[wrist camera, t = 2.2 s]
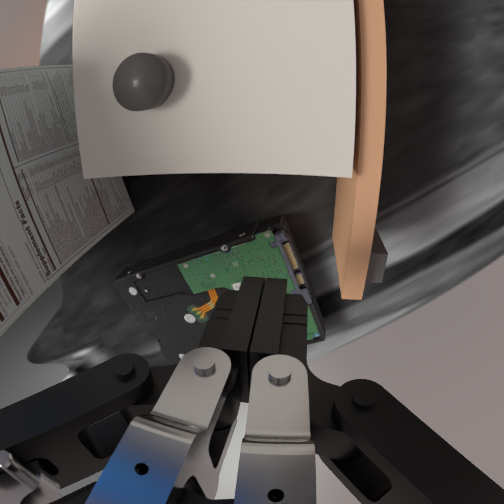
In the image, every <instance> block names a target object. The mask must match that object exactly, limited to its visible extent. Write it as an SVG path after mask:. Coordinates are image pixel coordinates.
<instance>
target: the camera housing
mask: <svg viewBox="0 0 504 504" xmlns="http://www.w3.org/2000/svg"><path fill="white" fill-rule="evenodd" d="M73 85H74V101H75V114H76V124H77V134H78V142H79V150H80V157H81V164H82V170H83V176H84V179H90V178H103V177H117V176H133V175H153V174H183V173H262V174H293V175H314V176H330V177H345V178H352V171H353V157H354V139H355V114H356V42H355V18H354V2H353V0H74V16H73Z"/></svg>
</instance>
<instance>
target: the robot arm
mask: <svg viewBox="0 0 504 504" xmlns="http://www.w3.org/2000/svg"><path fill="white" fill-rule="evenodd" d="M307 324H308V304H307V302H306V300H305V299H304V297H303V296H302V294H287V279H279V278H266V281H265V278H263V277H248V276H244V277H243V279H242V282H241V285H240V288H239V290H229V289H227V290H226V291H225V292H224V293H223V294H222V295H220V296H219V297H218V299H217V301H216V304H215V306H214V310H213V311H212V313H211V316H210V318H209V320H208V323H207V325H206V327H205V330H204V332H203V335H202V337H201V339H200V342H199V344H198V347H197V349H194V350H191V351H190V352H188V353H186V354H185V355H184V356H183V357H182V359H181V360H180V362H179V363H178V364H175V365H169V366H157V367H149V364H148V362H147V360H146V359H145V358H143V357H142V356H140V355H137V354H133V353H126V354H121V355H118V356H115V357H113V358H111V359H109V360H107V361H105V362H103V363H101V364H99V365H96V366H94V367H92V368H90V369H88V370H86V371H84V372H82V373H80V374H77V375H75V376H73V377H71V378H69V379H67V380H65V381H62V382H60V383H58V384H56V385H54V386H52V387H49V388H47V389H45V390H43V391H41V392H38V393H36V394H34V395H32V396H30V397H27V398H25V399H23V400H21V401H18V402H16V403H14V404H12V405H9V406H7V407H5V408H3V409H0V504H316V466H315V454H318V455H319V456H320V458H321V460H322V461H323V462H324V463H325V465H326V466H327V467H328V468H329V469H330V470H331V471H332V472H333V473H334V475H335V476H336V477H337V478H338V479H339V480H340V481H341V482H342V483H343V484H344V486H346V488H347V489H348V490H349V491H350V492H351V493H352V494H353V495H354V496H355V497H356V498H357V499H358V500H359V501H360V502H361V504H504V489H502V488H501V487H500V486H499V485H498V484H496V483H495V482H494V481H493V480H492V479H490V478H489V477H488V476H487V475H485V474H484V473H483V472H482V471H481V470H479V469H478V468H477V467H476V466H475V465H473V464H472V463H471V462H470V461H469V460H467V459H466V458H465V457H464V456H463V455H461V454H460V453H459V452H458V451H457V450H455V449H454V448H453V447H452V446H451V445H450V444H448V443H447V442H446V441H445V440H444V439H443V438H441V437H440V436H439V435H438V434H437V433H435V432H434V431H433V430H432V429H431V428H430V427H428V426H427V425H426V424H425V423H424V422H423V421H421V420H420V419H419V418H418V417H417V416H416V415H414V414H413V413H412V412H411V411H410V410H408V409H407V408H406V407H405V406H404V405H403V404H402V403H400V402H399V401H398V400H397V399H396V398H395V397H394V396H392V395H391V394H390V393H389V392H388V391H387V390H385V389H384V388H383V387H382V386H381V385H379V384H378V383H376V382H373V381H371V380H367V379H356V380H351V381H348V382H346V383H344V384H343V385H342V386H341V387H340V386H337V385H333V384H330V383H327V382H324V381H322V380H320V379H319V378H317V377H316V376H314V374H312V372H311V371H310V370H309V368H308V365H307V360H306V357H307ZM240 402H246V403H249V405H248V415H247V424H246V431H245V437H244V438H243V440H242V445H241V452H240V459H239V467H238V475H237V483H236V490H235V498H234V499H222V500H214V498H215V496H216V492H217V488H218V480H219V474H220V470H221V467H222V464H223V461H224V458H225V455H226V453H227V450H228V447H229V444H230V441H231V438H232V435H233V432H234V429H235V426H236V423H237V415H238V410H239V406H240ZM118 411H119V412H118ZM116 412H117V413H116ZM114 413H115V414H114ZM112 414H113V415H112ZM110 415H111V416H110ZM108 416H109V417H108ZM106 417H107V418H106ZM104 418H105V419H104ZM102 419H103V420H102ZM100 420H101V421H100ZM98 421H99V422H98ZM96 422H97V423H96ZM94 423H95V424H94ZM92 424H93V425H92ZM90 425H91V426H90ZM103 469H104V470H103ZM101 470H103V472H102V474H101V475H100V477H99V479H98V481H96V482H93V483H91V484H89V485H87V486H85V487H83V488H81V489H79V490H77V491H74V492H72V493H71V494H68V495H66V496H64V497H62V496H61V494H60V489H61V488H64V487H66V486H69V485H71V484H73V483H75V482H78V481H80V480H82V479H84V478H87V477H89V476H91V475H93V474H95V473H97V472H99V471H101Z"/></svg>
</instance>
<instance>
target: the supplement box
mask: <svg viewBox="0 0 504 504" xmlns="http://www.w3.org/2000/svg"><path fill="white" fill-rule="evenodd" d="M134 211H135V210H134V207H133V205H132V202H131V200H130V197H129V194H128V192H127V189H126V187H125V184H124V182H123V179H122V176H117V177H103V178H90V179H84V176H83V170H82V164H81V157H80V150H79V142H78V134H77V124H76V114H75V101H74V85H73V65H44V66H30V67H18V68H9V69H0V337H1V335H2V334H3V333H4V332H5V331H6V330H7V329H8V328H9V327H10V326H11V325H12V323H13V322H14V321H15V320H16V319H17V318H18V317H19V316H20V315H21V314H22V313H23V312H24V311H25V310H26V309H27V308H28V307H29V306H30V305H31V304H32V303H33V302H34V301H35V300H36V299H37V298H38V297H39V296H40V295H41V294H42V293H43V292H44V291H45V290H46V289H47V288H48V287H49V286H50V285H51V284H52V283H53V282H54V281H55V280H56V279H57V278H58V277H59V276H60V275H61V274H63V273H64V272H65V271H66V270H67V269H68V268H69V267H70V266H71V265H72V264H73V263H75V262H76V261H77V260H78V259H79V258H80V257H81V256H82V255H84V254H85V253H86V252H87V251H88V250H89V249H90V248H92V247H93V246H94V245H95V244H96V243H97V242H99V241H100V240H101V239H102V238H103V237H104V236H106V235H107V234H108V233H109V232H110V231H112V230H113V229H114V228H115V227H117V226H118V225H119V224H120V223H121V222H123V221H124V220H125V219H126V218H128V217H129V216H130V215H131V214H133V213H134Z"/></svg>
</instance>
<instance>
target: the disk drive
mask: <svg viewBox="0 0 504 504" xmlns="http://www.w3.org/2000/svg"><path fill="white" fill-rule="evenodd" d="M244 276H248V277H263V278H265V281H266V278H279V279H287V294H302V296H303V297H304V299H305V300H306V302H307V304H308V324H307V344H313V343H316V342H319V341H320V342H321V341H324V340H325V323H324V319H323V316H322V314H321V311H320V308H319V305H318V302H317V299H316V297H315V294H314V291H313V288H312V286H311V283H310V280H309V279H308V276H307V273H306V271H305V267H304V264H303V262H302V259H301V256H300V254H299V251H298V249H297V246H296V243H295V241H294V238H293V236H292V233H291V231H290V228H289V225H288V223H287V220H286V218H285V216H284V215H280V216H276V217H273V218H270V219H268V220H264V221H261V222H258V223H257V222H256V223H253V224H250V225H246V226H244V227H242V228H240V229H236V230H234V231H231V232H228V233H225V234H222V235H219V236H216V237H214V238H210V239H207V240H204V241H201V242H199V243H195V244H193V245H190V246H187V247H184V248H181V249H178V250H175V251H173V252H170V253H167V254H164V255H161V256H159V257H155V258H153V259H150V260H145V261H142V262H140V263H137V264H135V265H133V266H130V267H128V268H125V269H124V270H123V271H122V272H121V274H120V275H119V276H118V277H117V278H116V279H115V280H114V284H115V286H116V288H117V289H118V291H119V292H120V294H121V295H122V297H123V298H124V300H125V301H126V302H127V304H128V306H129V307H130V309H131V310H132V312H133V313H134V315H135V316H136V318H137V319H138V321H139V322H140V324H141V325H142V327H143V328H144V329H145V331H146V332H147V333H148V334H150V335H152V336H153V337H155V338H159V339H158V342H159V345H160V347H161V349H160V351H161V353H162V354H163V355H164V356H165V358H166V359H167V360H168V362H169V363H170V364H171V365H175V364H178V363H179V362H180V360H181V359H182V357H183V356H184V355H185V354H186V353H188V352H190V351H191V350H194V349H197V347H198V344H199V342H200V339H201V337H202V335H203V332H204V330H205V327H206V325H207V323H208V320H209V318H210V316H211V313H212V311H213V310H214V306H215V304H216V301H217V299H218V297H219V296H220V295H222V294H223V293H224V292H225V291H226V290H227V289H229V290H239V288H240V285H241V282H242V279H243V277H244Z"/></svg>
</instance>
